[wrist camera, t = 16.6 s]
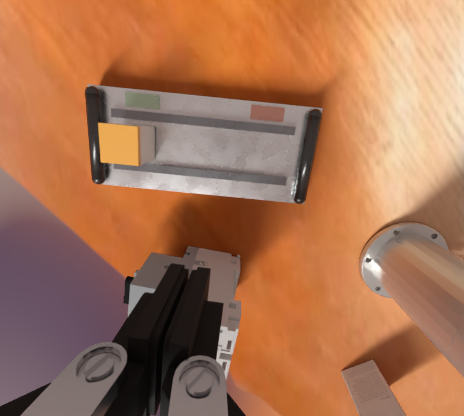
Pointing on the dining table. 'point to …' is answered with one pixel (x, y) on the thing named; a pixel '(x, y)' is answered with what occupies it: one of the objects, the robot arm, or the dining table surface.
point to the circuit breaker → (220, 290)
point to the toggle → (126, 143)
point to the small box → (371, 391)
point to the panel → (209, 143)
